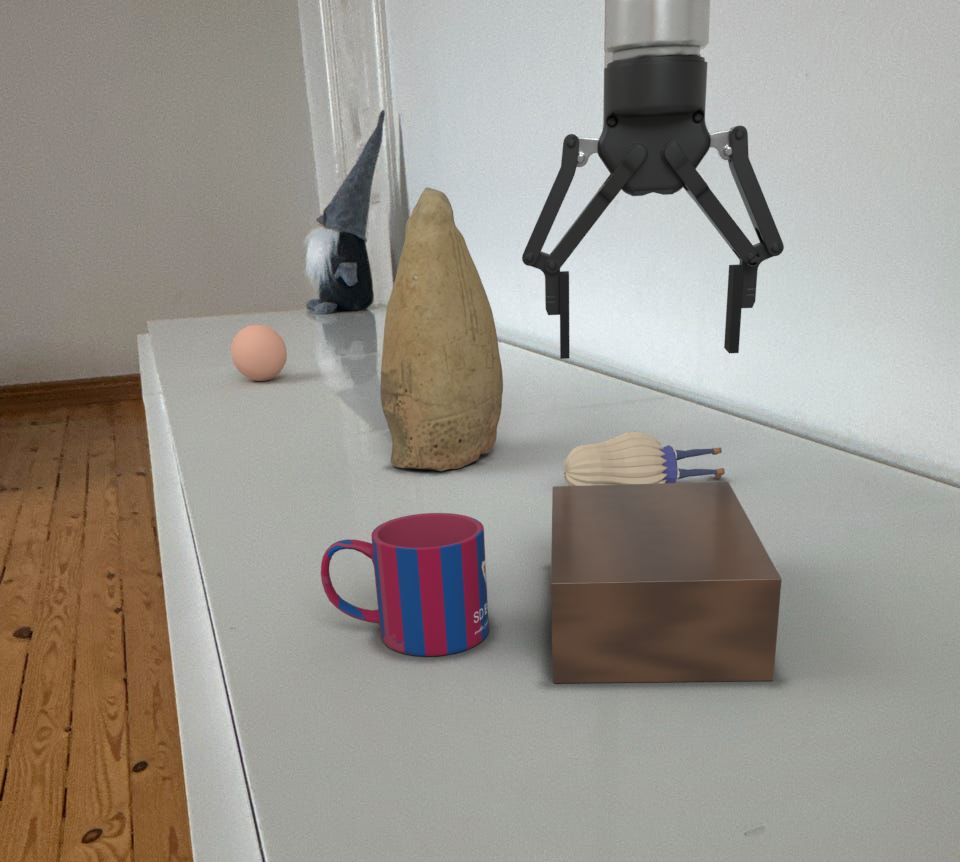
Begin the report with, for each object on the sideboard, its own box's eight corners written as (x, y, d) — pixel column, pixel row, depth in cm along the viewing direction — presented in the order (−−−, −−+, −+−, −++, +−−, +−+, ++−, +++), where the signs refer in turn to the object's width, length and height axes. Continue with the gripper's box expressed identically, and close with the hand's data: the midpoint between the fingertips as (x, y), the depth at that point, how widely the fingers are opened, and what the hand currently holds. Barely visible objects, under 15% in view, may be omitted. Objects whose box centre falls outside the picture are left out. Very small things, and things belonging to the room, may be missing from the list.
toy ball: (279, 373, 152) (271, 319, 148) (298, 380, 145) (291, 323, 142) (228, 380, 148) (219, 325, 145) (246, 388, 142) (237, 330, 138)
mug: (481, 658, 59) (475, 549, 56) (317, 655, 60) (303, 549, 57) (495, 612, 65) (490, 512, 62) (346, 611, 66) (334, 512, 63)
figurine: (706, 435, 91) (551, 444, 87) (730, 421, 87) (568, 430, 83) (715, 498, 90) (560, 510, 86) (739, 487, 86) (577, 499, 82)
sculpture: (475, 439, 108) (462, 184, 97) (525, 461, 98) (516, 182, 88) (370, 456, 103) (344, 191, 93) (411, 481, 94) (388, 190, 83)
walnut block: (723, 563, 71) (728, 481, 68) (773, 681, 54) (781, 578, 52) (554, 567, 72) (552, 486, 69) (553, 683, 55) (550, 583, 53)
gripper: (817, 52, 76) (792, 341, 85) (489, 70, 78) (499, 350, 87) (842, 41, 69) (812, 356, 78) (483, 61, 71) (494, 366, 80)
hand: (647, 353), depth 82 cm, fingers open, 13 cm apart
